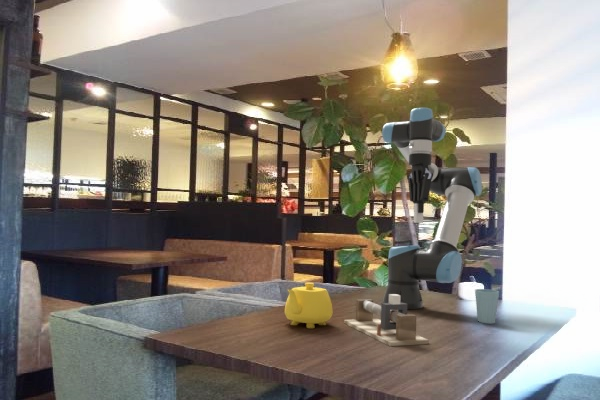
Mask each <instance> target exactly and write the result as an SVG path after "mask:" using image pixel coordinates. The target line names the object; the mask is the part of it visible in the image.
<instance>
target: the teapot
mask: <svg viewBox="0 0 600 400" xmlns="http://www.w3.org/2000/svg"><path fill="white" fill-rule="evenodd" d="M304 285H305V286H297V287H293V288H291V289H287V291H288V296H287V299H286V303H285V306H284V315H285V317H286V318H287V320H289V321H290V323H289V324H290V325H291V326H298V325H299V324H300V323H303V324H304V323H305V324H306V327H305V328H306V329H315V324H317V325H319V326H326V325H327V323H326V322H328V321H330V319H331V318H332V317H333V313H334V312H333V305H332V300H331V297H330V294H329V292H328V290H327V289H326V288H322V287H317V286H315V283H314V282H305V283H304ZM314 286H315V287H314Z"/></svg>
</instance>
